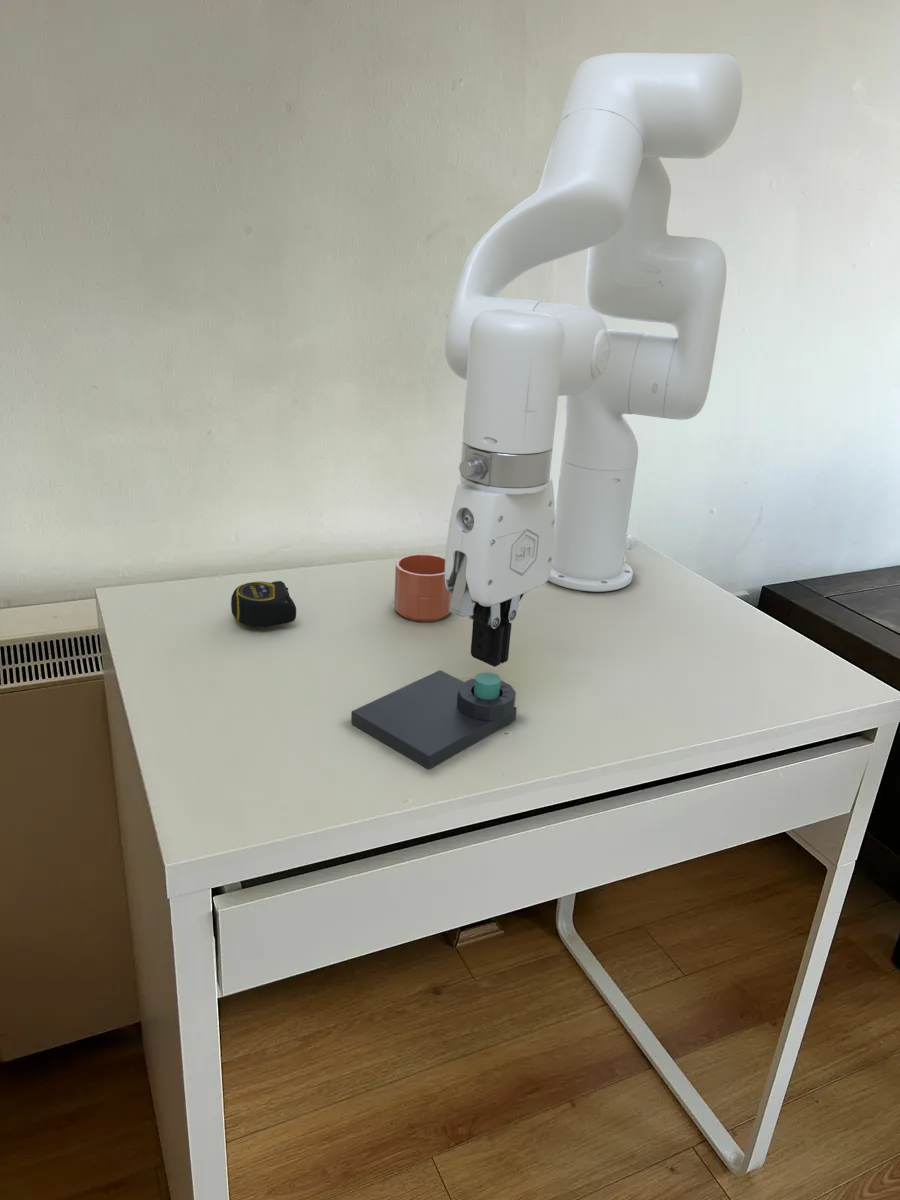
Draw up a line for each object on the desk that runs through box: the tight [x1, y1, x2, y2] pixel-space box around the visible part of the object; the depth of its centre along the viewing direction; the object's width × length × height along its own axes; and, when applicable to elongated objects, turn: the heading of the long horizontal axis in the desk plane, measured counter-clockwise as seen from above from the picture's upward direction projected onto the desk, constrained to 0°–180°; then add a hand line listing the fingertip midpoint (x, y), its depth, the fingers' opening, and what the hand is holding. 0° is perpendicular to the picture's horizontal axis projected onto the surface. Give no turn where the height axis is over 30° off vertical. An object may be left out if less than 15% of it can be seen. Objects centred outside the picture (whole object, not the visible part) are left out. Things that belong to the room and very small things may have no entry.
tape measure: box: [230, 580, 297, 629], centre depth 102 cm, size 7×7×4 cm
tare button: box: [474, 671, 502, 700], centre depth 84 cm, size 2×2×2 cm
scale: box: [350, 669, 517, 770], centre depth 84 cm, size 13×10×3 cm
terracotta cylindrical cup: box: [393, 553, 453, 623], centre depth 106 cm, size 7×7×6 cm
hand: (489, 658), depth 83 cm, fingers closed
